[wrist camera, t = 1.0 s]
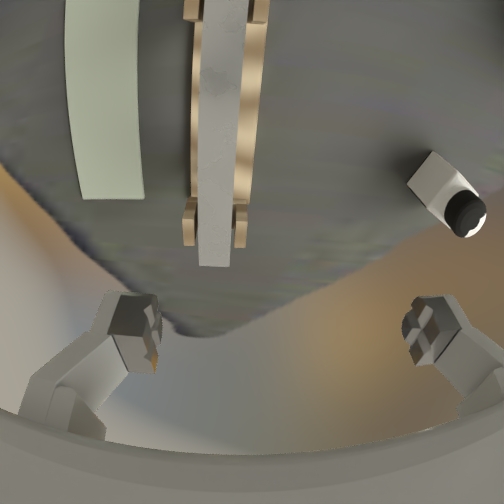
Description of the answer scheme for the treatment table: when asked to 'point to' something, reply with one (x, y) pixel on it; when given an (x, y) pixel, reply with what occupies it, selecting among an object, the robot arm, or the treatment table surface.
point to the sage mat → (104, 96)
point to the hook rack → (246, 120)
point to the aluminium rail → (219, 124)
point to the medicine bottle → (448, 196)
